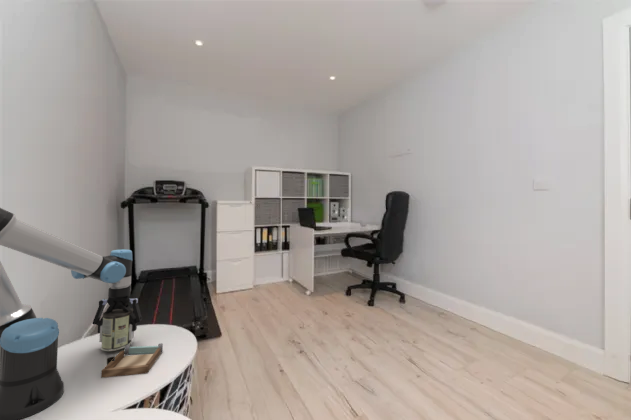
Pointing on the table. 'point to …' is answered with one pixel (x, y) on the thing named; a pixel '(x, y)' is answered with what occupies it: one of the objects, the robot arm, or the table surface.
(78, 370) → the table surface
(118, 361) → the shallow wooden tray
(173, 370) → the table surface
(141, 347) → the gate
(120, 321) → the coffee can
